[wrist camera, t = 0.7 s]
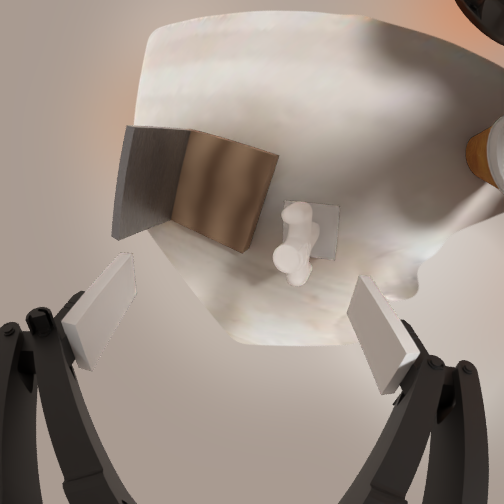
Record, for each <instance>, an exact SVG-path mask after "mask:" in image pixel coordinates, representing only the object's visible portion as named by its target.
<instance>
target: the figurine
mask: <svg viewBox="0 0 504 504" xmlns="http://www.w3.org/2000/svg"><path fill="white" fill-rule="evenodd" d="M339 214H340V206H338V205H329V204H320V203H309V202H299V201H287V200H284V210H283V211H282V213H281V217H282V219H283V243H282V244H281V245H280V246H278V247H277V248H276V249H275V251H274V253H273V262H274V265H275V266H276V268H277V269H278V270H280V271H281V272H283V273H287V281H288V283H289V284H290V285H292V286H302V285H303V284H305V283H306V281H307V280H308V278H309V276H310V274H311V271H312V265H311V264H310V263H309V257H314V258H321V259H328V260H335V255H336V246H337V236H338V225H339Z"/></svg>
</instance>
